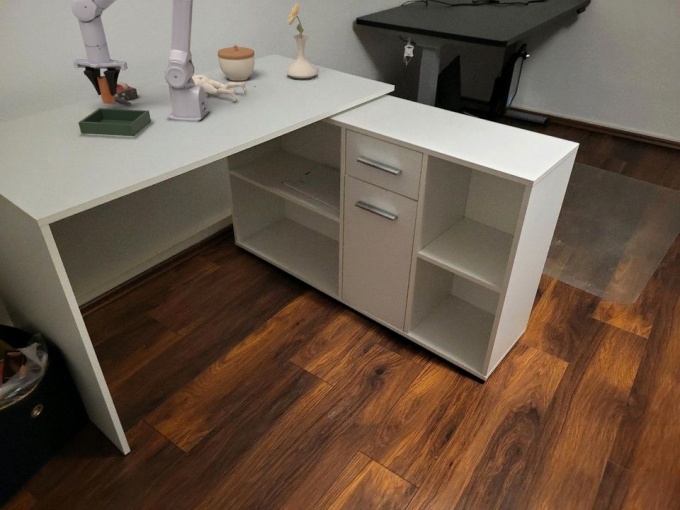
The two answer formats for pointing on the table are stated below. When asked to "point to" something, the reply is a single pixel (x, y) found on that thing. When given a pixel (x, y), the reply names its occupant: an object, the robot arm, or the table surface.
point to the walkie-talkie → (125, 93)
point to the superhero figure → (217, 86)
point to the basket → (115, 122)
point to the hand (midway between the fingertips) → (107, 94)
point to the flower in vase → (300, 51)
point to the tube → (105, 90)
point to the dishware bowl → (236, 62)
